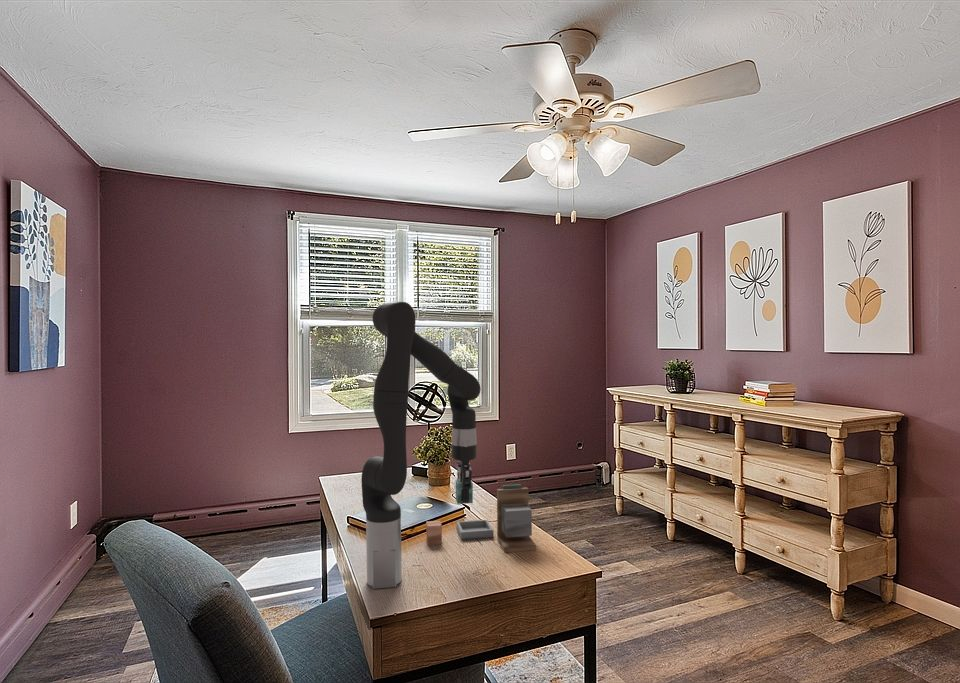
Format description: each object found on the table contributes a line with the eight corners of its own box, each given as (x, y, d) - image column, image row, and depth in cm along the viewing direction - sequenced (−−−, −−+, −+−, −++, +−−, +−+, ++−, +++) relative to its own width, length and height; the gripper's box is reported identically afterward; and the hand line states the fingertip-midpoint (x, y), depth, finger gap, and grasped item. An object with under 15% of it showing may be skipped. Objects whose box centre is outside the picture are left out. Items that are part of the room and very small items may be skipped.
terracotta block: (441, 544, 180) (441, 525, 180) (427, 545, 179) (427, 526, 179) (440, 539, 184) (440, 520, 184) (426, 540, 183) (426, 521, 183)
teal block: (472, 503, 169) (472, 482, 169) (457, 503, 168) (457, 483, 168) (470, 498, 174) (470, 479, 174) (455, 499, 173) (455, 479, 173)
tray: (493, 537, 185) (493, 530, 185) (461, 540, 183) (461, 532, 183) (487, 526, 195) (487, 519, 195) (456, 528, 193) (456, 521, 193)
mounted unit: (536, 549, 174) (535, 492, 174) (504, 552, 172) (503, 494, 172) (527, 537, 185) (526, 483, 184) (497, 539, 183) (496, 485, 183)
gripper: (448, 439, 177) (448, 493, 177) (454, 447, 163) (454, 507, 163) (472, 438, 179) (472, 492, 179) (480, 446, 164) (480, 505, 165)
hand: (464, 499), depth 171 cm, fingers closed on teal block, 4 cm apart
